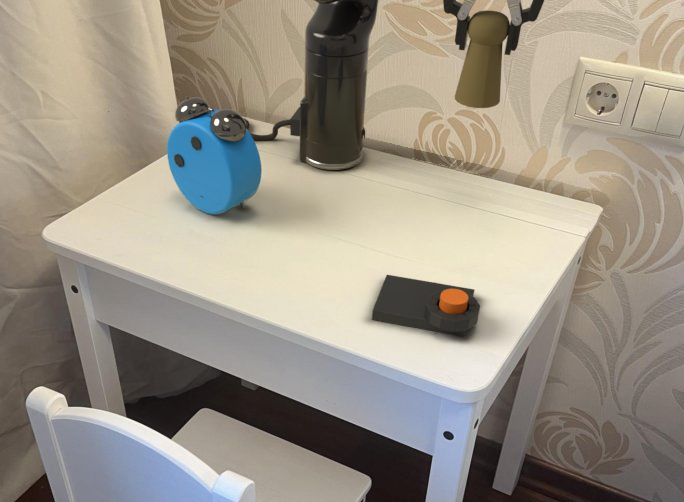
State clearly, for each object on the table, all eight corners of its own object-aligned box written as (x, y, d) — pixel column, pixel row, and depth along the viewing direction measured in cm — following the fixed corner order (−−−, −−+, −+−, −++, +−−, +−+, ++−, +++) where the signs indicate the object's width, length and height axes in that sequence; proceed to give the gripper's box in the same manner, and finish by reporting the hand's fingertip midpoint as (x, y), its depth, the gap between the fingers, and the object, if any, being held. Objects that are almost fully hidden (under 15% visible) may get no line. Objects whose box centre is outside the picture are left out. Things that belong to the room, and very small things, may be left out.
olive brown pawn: (457, 88, 114) (469, 3, 107) (501, 92, 113) (517, 8, 105) (451, 105, 109) (464, 18, 102) (498, 110, 108) (513, 23, 101)
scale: (369, 326, 98) (370, 305, 96) (385, 283, 104) (387, 263, 102) (472, 345, 95) (476, 324, 93) (482, 300, 102) (486, 279, 100)
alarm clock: (264, 213, 118) (262, 110, 108) (234, 230, 114) (228, 125, 104) (199, 184, 124) (192, 84, 114) (169, 199, 120) (158, 98, 110)
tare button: (436, 312, 95) (438, 301, 94) (441, 297, 98) (442, 286, 97) (464, 317, 95) (466, 306, 94) (468, 301, 97) (470, 291, 96)
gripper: (573, -102, 97) (543, 46, 108) (451, -110, 100) (434, 35, 111) (570, -88, 91) (539, 67, 103) (441, -97, 94) (424, 54, 106)
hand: (484, 50), depth 107 cm, fingers closed on olive brown pawn, 5 cm apart
